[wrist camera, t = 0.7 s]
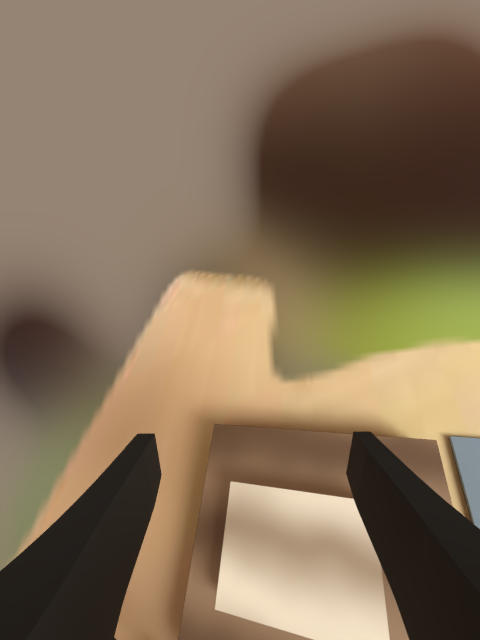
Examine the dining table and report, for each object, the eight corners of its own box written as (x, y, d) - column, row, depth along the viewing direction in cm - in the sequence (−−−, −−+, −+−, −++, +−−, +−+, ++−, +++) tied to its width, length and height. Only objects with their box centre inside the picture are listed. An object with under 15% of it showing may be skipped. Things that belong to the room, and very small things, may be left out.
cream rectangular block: (386, 647, 15) (392, 663, 14) (225, 600, 19) (214, 609, 17) (370, 501, 19) (373, 501, 18) (238, 482, 22) (230, 481, 21)
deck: (496, 775, 14) (534, 841, 12) (193, 660, 20) (170, 685, 17) (424, 447, 23) (436, 440, 20) (226, 431, 28) (214, 423, 26)
